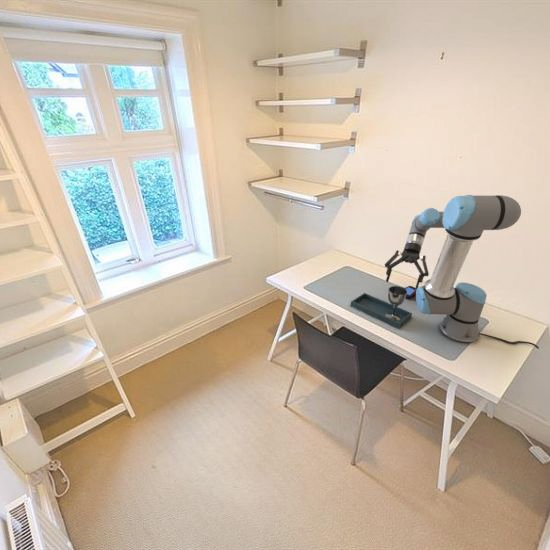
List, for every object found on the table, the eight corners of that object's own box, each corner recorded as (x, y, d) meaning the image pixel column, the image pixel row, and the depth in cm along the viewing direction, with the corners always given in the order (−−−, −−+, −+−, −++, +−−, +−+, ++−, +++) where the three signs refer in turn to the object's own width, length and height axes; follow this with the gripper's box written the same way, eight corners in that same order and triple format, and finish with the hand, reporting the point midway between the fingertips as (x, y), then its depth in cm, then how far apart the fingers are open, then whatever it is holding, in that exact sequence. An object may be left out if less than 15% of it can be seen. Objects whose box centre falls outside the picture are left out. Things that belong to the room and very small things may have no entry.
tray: (411, 318, 151) (412, 313, 150) (398, 328, 144) (399, 323, 143) (363, 297, 169) (364, 292, 167) (350, 306, 162) (351, 301, 160)
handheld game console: (409, 287, 178) (412, 275, 174) (427, 295, 170) (430, 283, 166) (395, 293, 171) (397, 281, 168) (413, 302, 163) (415, 290, 160)
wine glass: (402, 322, 148) (408, 295, 141) (385, 320, 149) (389, 294, 142) (400, 313, 154) (405, 286, 147) (383, 311, 156) (387, 285, 149)
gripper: (441, 253, 151) (429, 293, 147) (388, 243, 163) (376, 280, 159) (442, 246, 145) (429, 288, 141) (387, 237, 157) (374, 275, 153)
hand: (401, 284), depth 150 cm, fingers open, 13 cm apart
